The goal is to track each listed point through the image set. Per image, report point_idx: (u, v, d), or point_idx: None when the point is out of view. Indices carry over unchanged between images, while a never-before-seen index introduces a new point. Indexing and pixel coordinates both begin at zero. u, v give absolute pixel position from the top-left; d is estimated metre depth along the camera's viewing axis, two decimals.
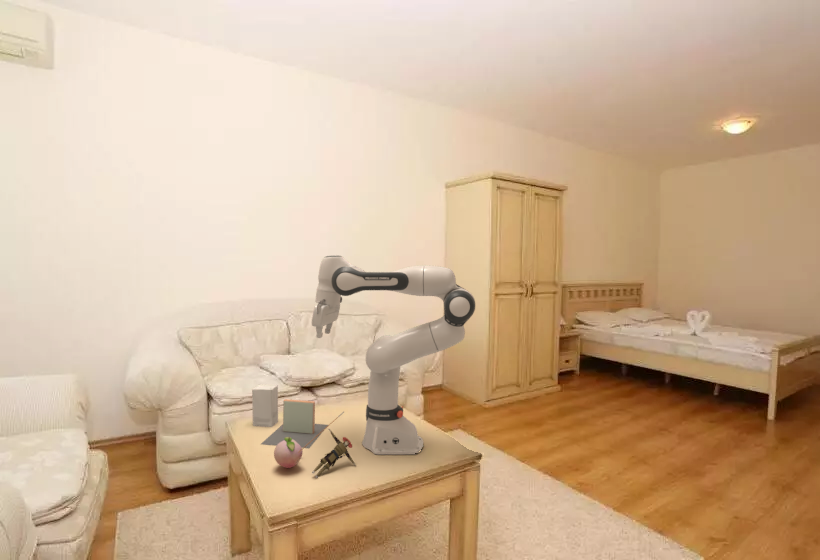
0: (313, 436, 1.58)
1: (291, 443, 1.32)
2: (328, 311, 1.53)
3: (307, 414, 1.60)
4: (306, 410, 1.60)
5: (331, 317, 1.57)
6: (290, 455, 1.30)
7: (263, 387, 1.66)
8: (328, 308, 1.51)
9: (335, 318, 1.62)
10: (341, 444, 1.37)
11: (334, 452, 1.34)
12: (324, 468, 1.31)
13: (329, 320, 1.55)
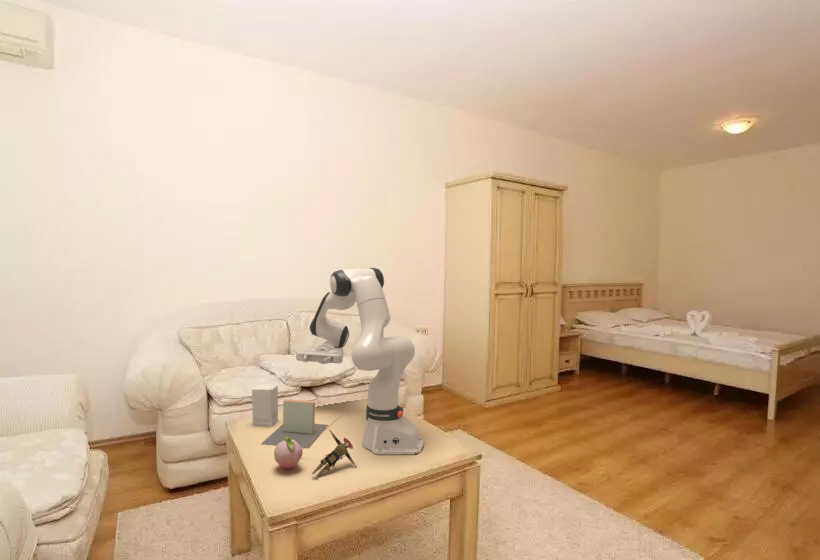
0: (313, 436, 1.58)
1: (291, 443, 1.32)
2: (316, 351, 1.86)
3: (307, 414, 1.60)
4: (306, 410, 1.60)
5: (322, 353, 1.83)
6: (290, 455, 1.30)
7: (263, 387, 1.66)
8: (314, 350, 1.88)
9: (334, 354, 1.81)
10: (342, 445, 1.36)
11: (334, 453, 1.34)
12: (324, 469, 1.30)
13: (317, 353, 1.82)
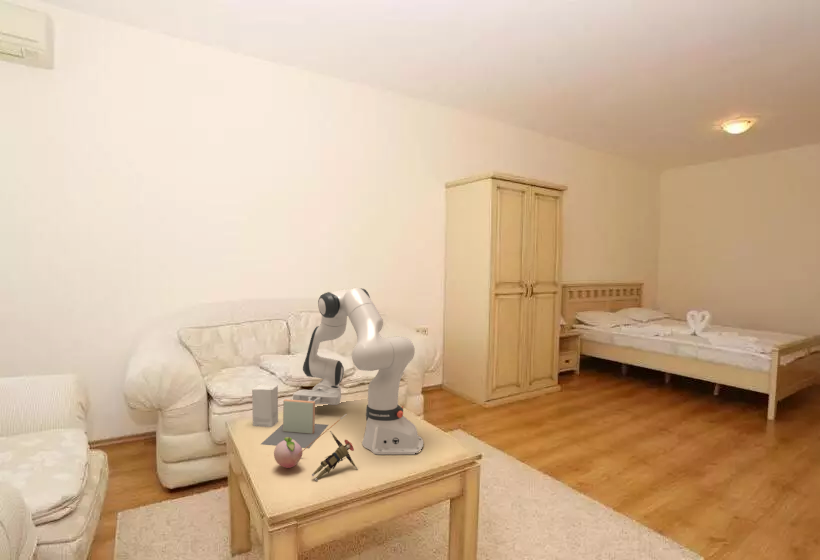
0: (313, 436, 1.58)
1: (291, 443, 1.32)
2: (313, 392, 1.84)
3: (307, 414, 1.60)
4: (306, 410, 1.60)
5: (319, 393, 1.81)
6: (290, 455, 1.30)
7: (263, 387, 1.66)
8: (311, 390, 1.85)
9: (331, 395, 1.79)
10: (342, 447, 1.35)
11: (335, 455, 1.32)
12: (324, 471, 1.29)
13: (314, 394, 1.80)
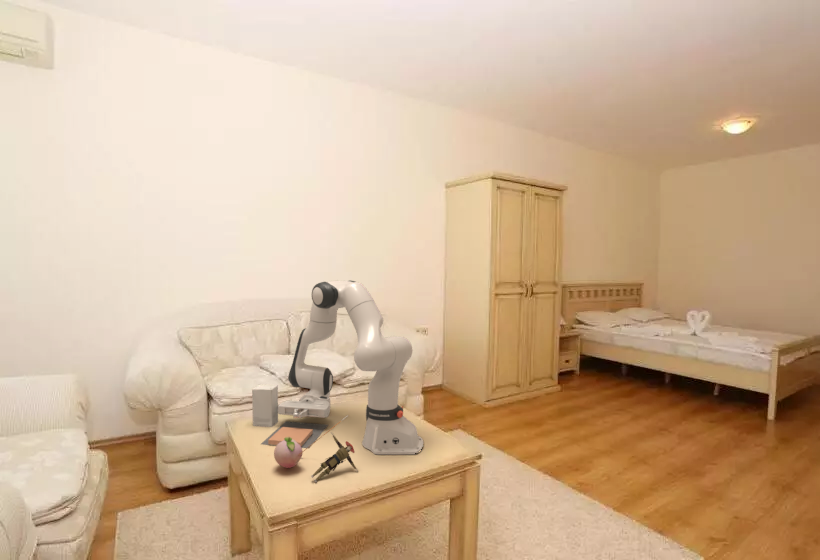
0: (313, 436, 1.58)
1: (291, 443, 1.32)
2: (300, 403, 1.69)
3: None
4: None
5: (306, 405, 1.66)
6: (290, 455, 1.30)
7: (263, 387, 1.66)
8: (298, 401, 1.70)
9: (319, 407, 1.64)
10: (343, 449, 1.33)
11: (335, 457, 1.31)
12: (324, 472, 1.28)
13: (301, 405, 1.65)
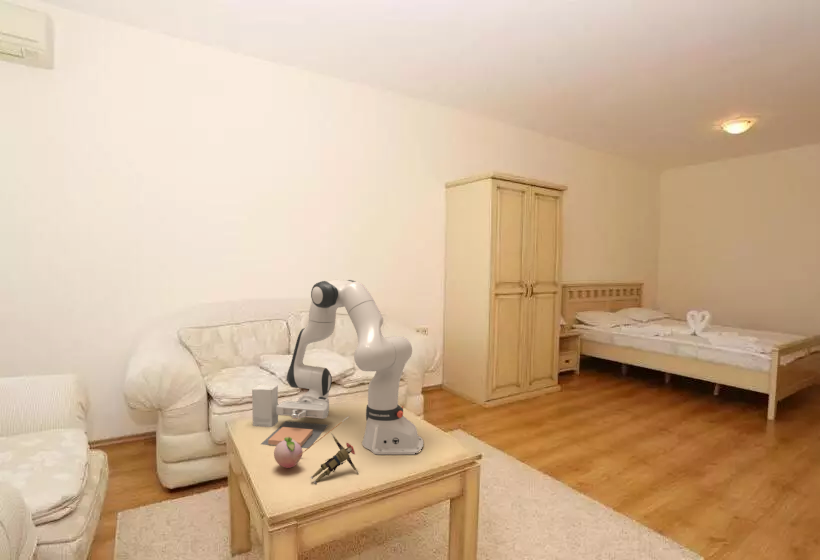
0: (313, 436, 1.58)
1: (291, 443, 1.32)
2: (298, 404, 1.68)
3: None
4: None
5: (305, 406, 1.65)
6: (290, 455, 1.30)
7: (263, 387, 1.66)
8: (296, 402, 1.69)
9: (318, 408, 1.63)
10: (343, 450, 1.32)
11: (335, 458, 1.30)
12: (324, 474, 1.27)
13: (299, 406, 1.64)
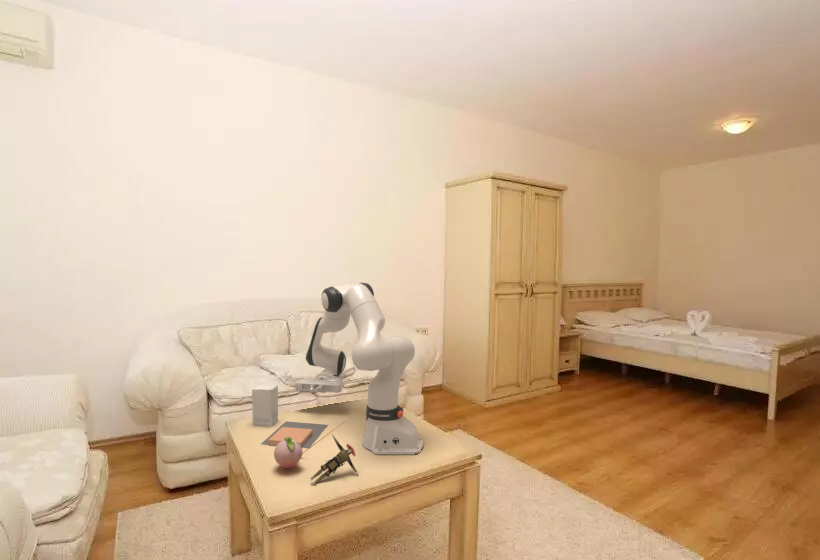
0: (313, 436, 1.58)
1: (291, 443, 1.32)
2: (315, 380, 1.85)
3: None
4: None
5: (321, 382, 1.82)
6: (290, 455, 1.30)
7: (263, 387, 1.66)
8: (313, 379, 1.87)
9: (333, 383, 1.81)
10: (344, 451, 1.32)
11: (335, 459, 1.30)
12: (323, 475, 1.27)
13: (316, 382, 1.82)
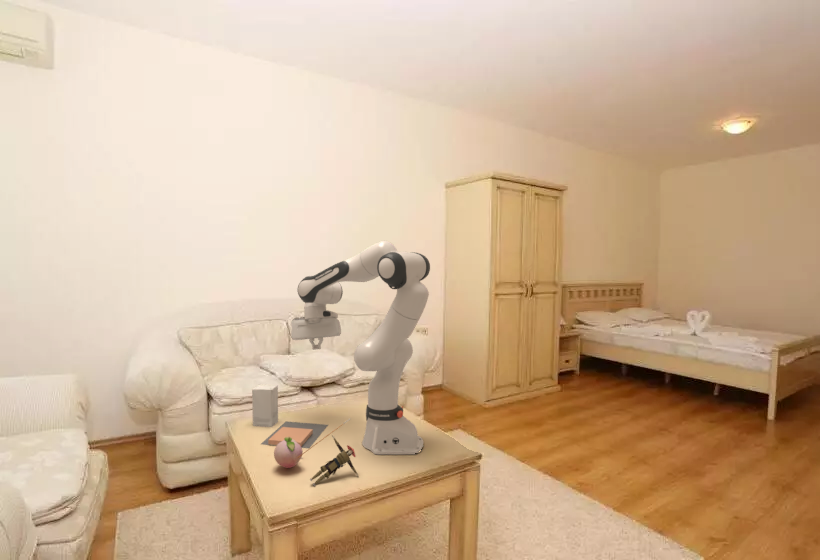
0: (313, 436, 1.58)
1: (291, 443, 1.32)
2: (308, 326, 1.70)
3: None
4: None
5: (317, 331, 1.69)
6: (290, 455, 1.30)
7: (263, 387, 1.66)
8: (305, 323, 1.70)
9: (330, 332, 1.68)
10: (344, 452, 1.31)
11: (335, 460, 1.29)
12: (323, 476, 1.26)
13: (312, 334, 1.69)
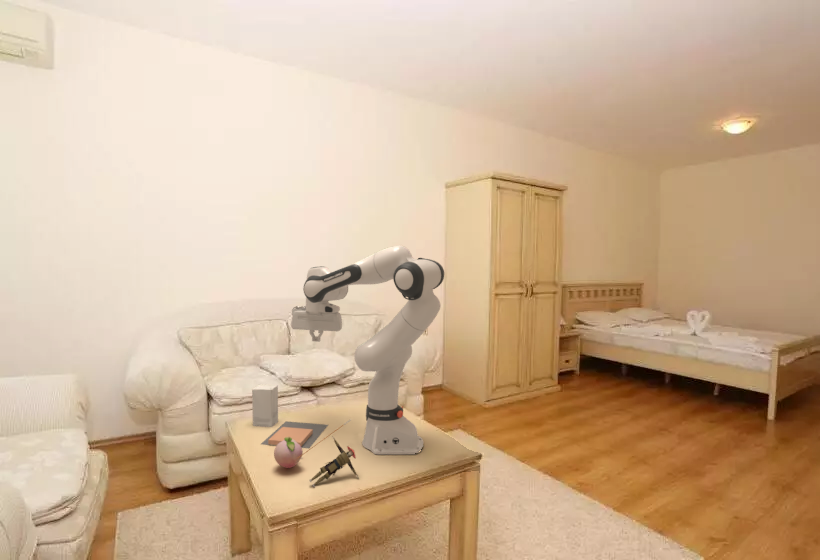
0: (313, 436, 1.58)
1: (291, 443, 1.32)
2: (309, 317, 1.67)
3: None
4: None
5: (318, 324, 1.67)
6: (290, 455, 1.30)
7: (263, 387, 1.66)
8: (306, 314, 1.67)
9: (331, 328, 1.66)
10: (344, 454, 1.30)
11: (335, 461, 1.28)
12: (323, 477, 1.25)
13: (313, 326, 1.67)
